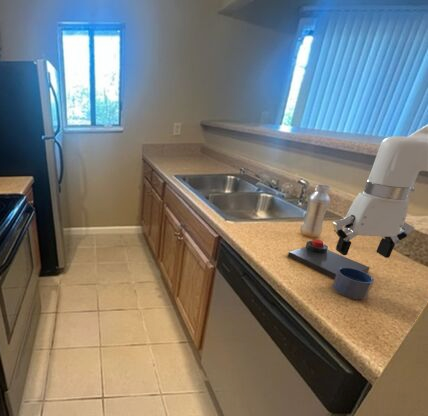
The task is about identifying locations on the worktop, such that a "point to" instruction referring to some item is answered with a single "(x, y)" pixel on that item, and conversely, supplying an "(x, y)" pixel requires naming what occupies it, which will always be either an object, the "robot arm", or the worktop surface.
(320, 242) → the button
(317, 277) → the worktop surface
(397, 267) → the worktop surface
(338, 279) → the cup
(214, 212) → the worktop surface
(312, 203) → the silver bottle
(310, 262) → the scale
